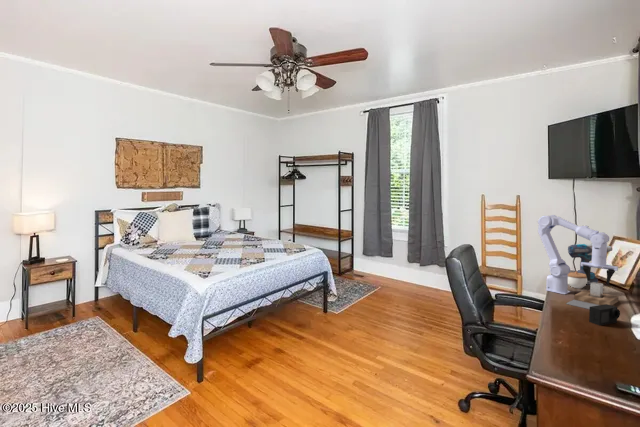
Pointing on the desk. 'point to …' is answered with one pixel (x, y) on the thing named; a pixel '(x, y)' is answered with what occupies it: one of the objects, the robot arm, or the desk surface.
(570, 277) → the lidded jar
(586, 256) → the impact wrench
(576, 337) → the desk surface
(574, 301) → the mat
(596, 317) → the digital camera
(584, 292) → the socket block
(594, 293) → the grey rectangular block
